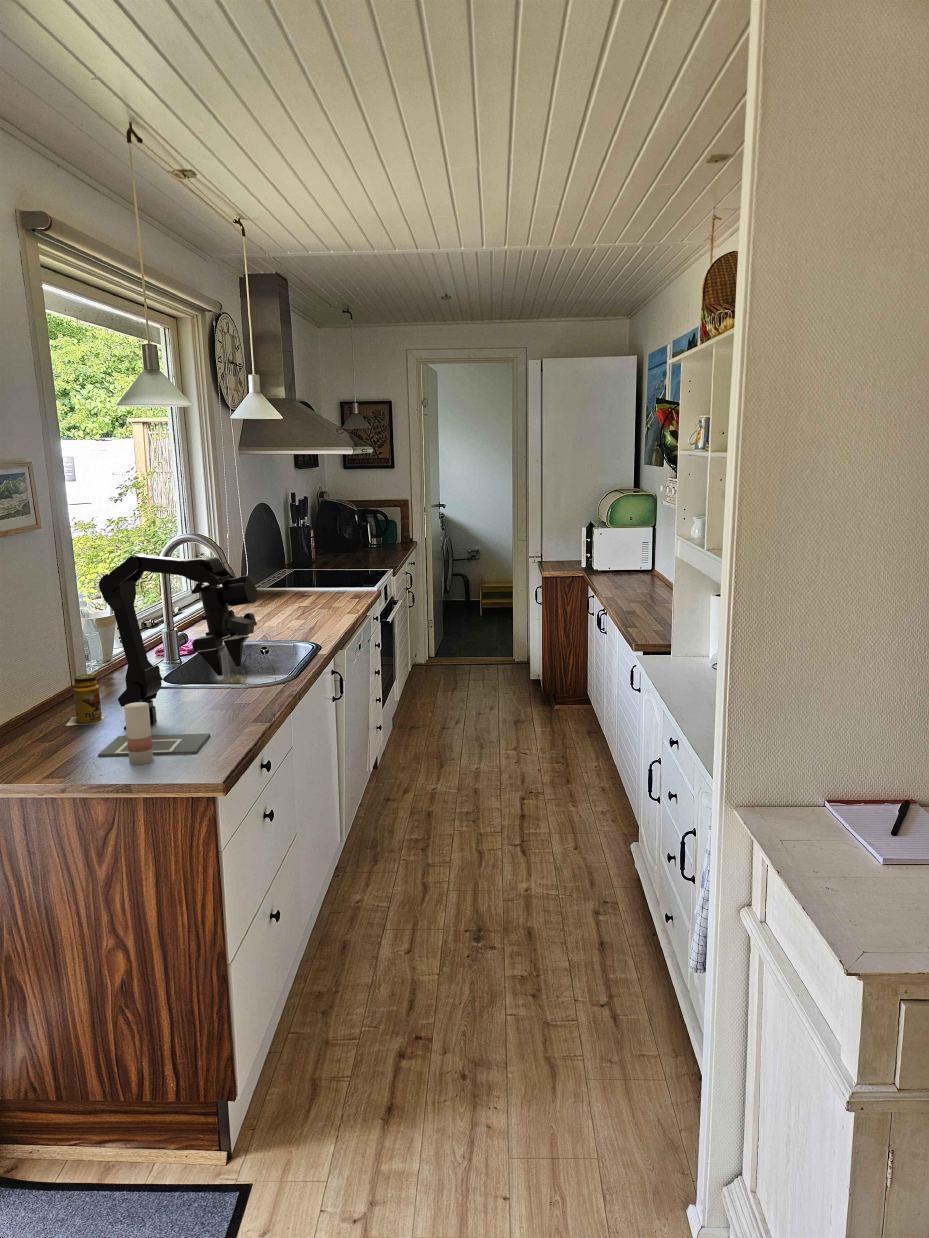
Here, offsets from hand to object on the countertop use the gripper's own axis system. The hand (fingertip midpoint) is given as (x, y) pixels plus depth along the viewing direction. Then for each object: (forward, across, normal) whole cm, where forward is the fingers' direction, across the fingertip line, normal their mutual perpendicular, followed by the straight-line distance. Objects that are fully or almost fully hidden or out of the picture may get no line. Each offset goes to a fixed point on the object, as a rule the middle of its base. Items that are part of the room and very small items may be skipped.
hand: (229, 671), depth 205 cm
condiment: (+9, +2, +45) cm, 46 cm away
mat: (+13, -14, +15) cm, 24 cm away
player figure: (+14, -24, +12) cm, 30 cm away
